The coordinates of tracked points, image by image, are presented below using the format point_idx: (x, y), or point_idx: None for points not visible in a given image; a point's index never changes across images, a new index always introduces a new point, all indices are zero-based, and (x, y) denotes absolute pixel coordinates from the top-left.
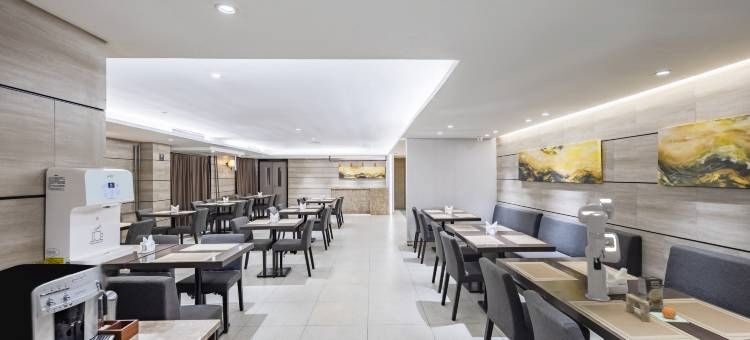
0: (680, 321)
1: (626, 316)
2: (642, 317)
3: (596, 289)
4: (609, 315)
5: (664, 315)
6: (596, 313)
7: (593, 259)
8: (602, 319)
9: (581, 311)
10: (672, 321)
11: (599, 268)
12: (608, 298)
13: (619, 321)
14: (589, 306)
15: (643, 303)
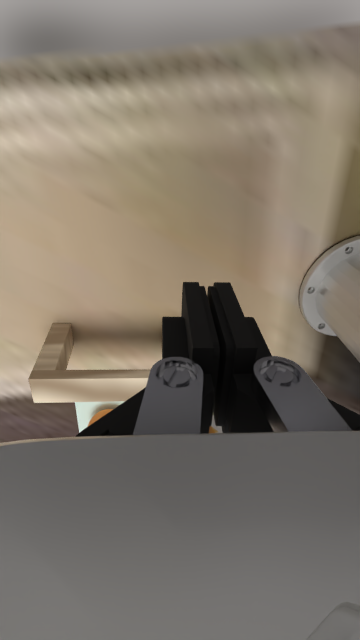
0: (81, 428)
1: (105, 289)
2: (53, 332)
3: (354, 294)
4: (105, 215)
5: (103, 411)
6: (127, 155)
7: (289, 392)
8: (27, 137)
9: (152, 64)
10: (76, 409)
11: (162, 341)
12: (315, 323)
13: (22, 221)
14: (241, 177)
15: (29, 379)
